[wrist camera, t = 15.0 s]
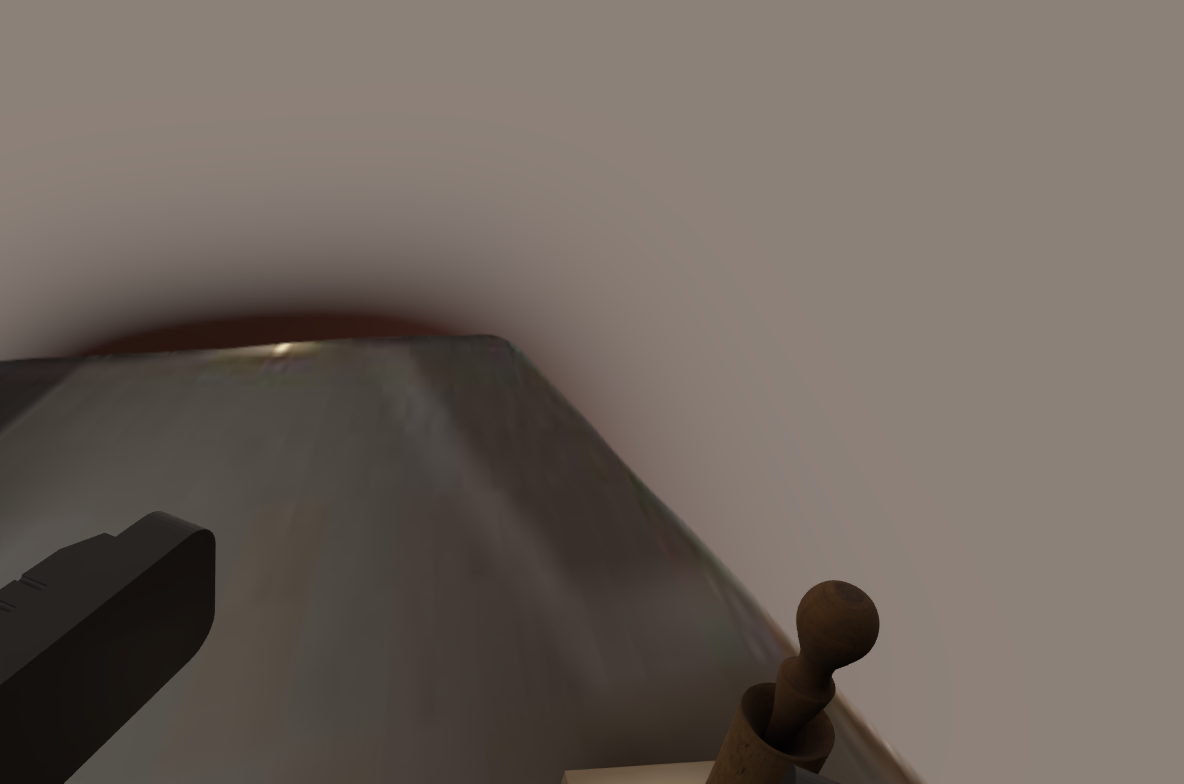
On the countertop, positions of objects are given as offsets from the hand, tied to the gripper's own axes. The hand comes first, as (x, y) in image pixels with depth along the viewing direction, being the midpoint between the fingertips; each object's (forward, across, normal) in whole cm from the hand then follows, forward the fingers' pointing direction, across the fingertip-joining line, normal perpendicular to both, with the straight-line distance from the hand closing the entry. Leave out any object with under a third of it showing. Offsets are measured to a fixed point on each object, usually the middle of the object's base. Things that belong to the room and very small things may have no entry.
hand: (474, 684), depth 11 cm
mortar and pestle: (+19, -9, +28) cm, 35 cm away
